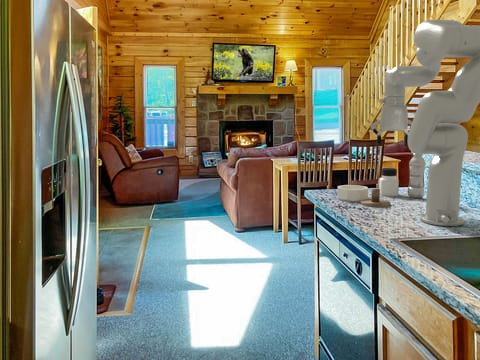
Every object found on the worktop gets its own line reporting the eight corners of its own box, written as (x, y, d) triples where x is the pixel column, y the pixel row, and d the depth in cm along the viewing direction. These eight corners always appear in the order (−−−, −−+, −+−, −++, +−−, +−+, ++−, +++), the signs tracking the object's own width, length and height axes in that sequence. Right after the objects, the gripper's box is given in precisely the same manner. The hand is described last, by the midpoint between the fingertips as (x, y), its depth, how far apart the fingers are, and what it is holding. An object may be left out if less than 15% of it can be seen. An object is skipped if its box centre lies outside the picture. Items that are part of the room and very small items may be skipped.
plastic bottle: (420, 196, 172) (423, 150, 169) (426, 199, 165) (429, 151, 162) (405, 196, 173) (407, 150, 170) (410, 199, 166) (412, 151, 163)
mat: (390, 208, 150) (390, 207, 150) (362, 207, 153) (362, 206, 152) (386, 202, 160) (387, 202, 160) (360, 202, 162) (360, 201, 162)
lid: (392, 207, 150) (393, 191, 149) (361, 206, 152) (362, 191, 151) (388, 201, 160) (388, 187, 160) (359, 201, 163) (359, 186, 162)
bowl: (368, 202, 162) (369, 190, 161) (337, 201, 164) (338, 189, 163) (365, 196, 173) (366, 185, 172) (337, 196, 176) (337, 184, 175)
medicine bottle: (398, 196, 173) (399, 169, 171) (380, 196, 174) (382, 168, 172) (395, 193, 180) (396, 167, 178) (378, 193, 181) (379, 166, 179)
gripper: (371, 101, 156) (370, 146, 158) (419, 100, 151) (417, 146, 154) (370, 102, 163) (369, 145, 165) (416, 101, 159) (414, 145, 161)
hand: (392, 145), depth 160 cm, fingers open, 9 cm apart
